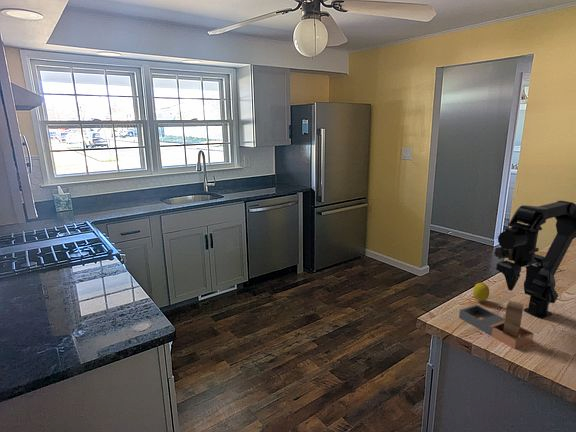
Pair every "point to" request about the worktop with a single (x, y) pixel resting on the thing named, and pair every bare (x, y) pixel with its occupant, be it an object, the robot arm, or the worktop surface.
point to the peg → (513, 318)
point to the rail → (494, 326)
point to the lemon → (481, 291)
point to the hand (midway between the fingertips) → (519, 287)
